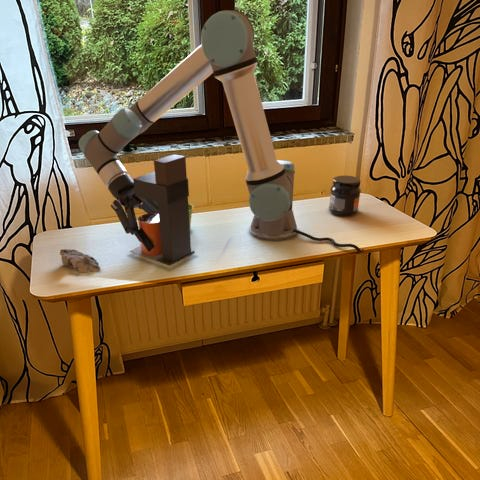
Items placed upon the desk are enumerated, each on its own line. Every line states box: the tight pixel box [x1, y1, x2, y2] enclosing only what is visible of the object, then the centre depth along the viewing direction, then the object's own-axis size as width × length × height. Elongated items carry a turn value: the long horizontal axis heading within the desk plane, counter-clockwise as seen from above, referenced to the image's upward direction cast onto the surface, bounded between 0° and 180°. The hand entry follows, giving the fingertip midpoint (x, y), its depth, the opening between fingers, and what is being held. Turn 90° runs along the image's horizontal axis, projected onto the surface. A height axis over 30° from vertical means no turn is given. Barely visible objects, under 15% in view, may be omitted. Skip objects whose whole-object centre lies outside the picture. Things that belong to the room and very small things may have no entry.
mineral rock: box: [59, 248, 101, 274], centre depth 144 cm, size 15×8×4 cm, turn 36°
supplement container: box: [328, 175, 362, 217], centre depth 180 cm, size 10×10×12 cm
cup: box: [137, 213, 162, 255], centre depth 150 cm, size 8×8×10 cm
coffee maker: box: [128, 153, 195, 267], centre depth 144 cm, size 16×11×30 cm, turn 54°
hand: (162, 243), depth 149 cm, fingers open, 8 cm apart
